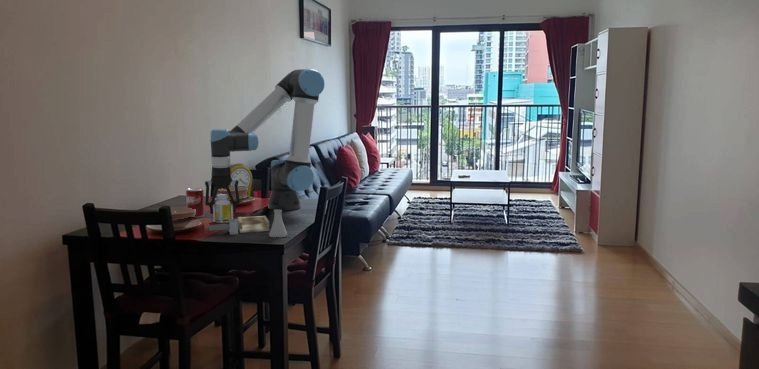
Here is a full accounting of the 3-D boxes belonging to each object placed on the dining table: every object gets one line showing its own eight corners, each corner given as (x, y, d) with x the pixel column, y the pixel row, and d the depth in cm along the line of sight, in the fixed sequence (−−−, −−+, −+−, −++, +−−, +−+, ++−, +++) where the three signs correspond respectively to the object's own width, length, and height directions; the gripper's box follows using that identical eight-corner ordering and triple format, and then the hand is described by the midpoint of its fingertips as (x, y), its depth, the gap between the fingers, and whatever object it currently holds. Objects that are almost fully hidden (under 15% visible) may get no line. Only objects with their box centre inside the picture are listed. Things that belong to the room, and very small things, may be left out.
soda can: (199, 218, 242) (198, 191, 240) (184, 217, 243) (182, 190, 241) (207, 214, 249) (206, 188, 247) (192, 214, 250) (191, 187, 248)
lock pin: (239, 229, 220) (239, 220, 220) (240, 231, 217) (240, 222, 216) (204, 231, 216) (204, 222, 216) (204, 233, 213) (204, 224, 212)
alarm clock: (228, 201, 280) (227, 165, 277) (219, 199, 285) (218, 163, 282) (253, 197, 290) (252, 162, 287) (244, 195, 296) (243, 161, 293)
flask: (269, 233, 217) (269, 208, 216) (288, 233, 218) (288, 208, 216) (267, 238, 210) (267, 212, 208) (287, 238, 211) (286, 212, 209)
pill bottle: (234, 220, 238) (233, 193, 236) (225, 224, 232) (224, 196, 230) (221, 219, 240) (220, 192, 238) (212, 222, 234) (211, 195, 232)
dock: (265, 223, 233) (265, 215, 233) (269, 230, 221) (269, 222, 221) (237, 225, 230) (237, 217, 229) (239, 232, 218) (239, 224, 217)
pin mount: (237, 230, 221) (236, 218, 221) (238, 234, 216) (237, 222, 215) (229, 231, 220) (228, 219, 220) (230, 234, 215) (229, 222, 214)
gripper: (244, 164, 239) (246, 217, 243) (196, 166, 233) (199, 220, 237) (245, 166, 232) (247, 221, 236) (196, 168, 226) (199, 224, 230)
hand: (223, 220), depth 236 cm, fingers closed on pill bottle, 6 cm apart
